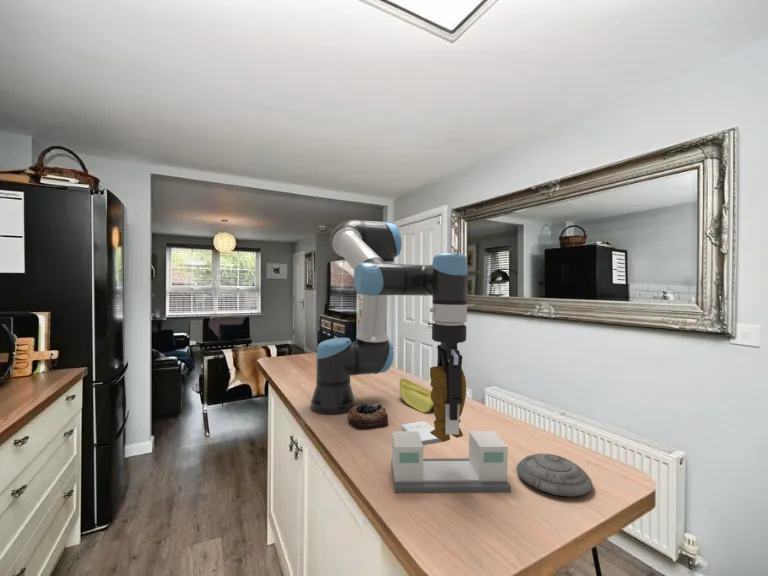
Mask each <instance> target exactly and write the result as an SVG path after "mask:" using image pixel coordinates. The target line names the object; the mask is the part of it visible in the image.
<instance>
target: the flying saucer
mask: <svg viewBox="0 0 768 576" xmlns="http://www.w3.org/2000/svg"><path fill="white" fill-rule="evenodd" d="M515 470H516V472H517V474H518V476H519V477H520V479H522V480H523V481H524V482H526V483H527V484H529V485H530V486H531V487H534V488H535V489H538V490H540V491H542V492H545V493H548V494H552V495H557V496H562V497H578V496H582V495H586V494H588V493H589V492H591V491H592V489H593V487H594V486H593V485H594V484H593V482H592V479H591V478H590V476H589V475H588V473H587V472H586V471H585V470H584V469H583V468H582V467H580V466H579V465H578V464H576V463H575V462H573V461H571V459H567V458H565V457H563V456H560V455H556V454H551V453H534V454H530V455H528V456H525V457H524V458H522V459H521V460H520V461H519V462H518V463H517V465H516V469H515Z"/></svg>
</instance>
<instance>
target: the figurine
mask: <svg viewBox="0 0 768 576" xmlns="http://www.w3.org/2000/svg"><path fill="white" fill-rule="evenodd" d="M429 379H430V383H429V384H430V386H431V388H432V389H431V390H430V391H431V400H432V401H433V403H434V405H433V406H432V408H433V413H434V418H435V420H434V421H433V426H434V430H433V431H431V432H430V433H431V434H432V435H434V436H435V437H437V438H439V439H440V440H442V442H447V441H450V440H451V436H453V437H454V438H457V439H459V438H461V437H463V435H464V432H462V430H461V428H460V427H459V434H448V435H446V433H445V416H446V404H444V401H447V384H446V372H445V371H444V370H443V366H437V365H436V366H431V367H430V368H429ZM466 396H467V381H466V376H465V372H464V371H463V369H462V400H463V402H462V404H459V424H460V423H461V419H460V417H461V416H462V414H463V410H464V408H465V404H466V403H465V402H466Z"/></svg>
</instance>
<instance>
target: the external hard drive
mask: <svg viewBox="0 0 768 576" xmlns="http://www.w3.org/2000/svg"><path fill="white" fill-rule="evenodd" d="M400 427H401V428H400V429H402V431H418V432H419V435H420V438H421V441H422V444H423V446H424V445H429V444H435V443H441V442H443V441H442V440H440V439H439V438H437V437H435V436H434V435H432V434H431V433H430V432H431V431H433V430H434V429H435V427H433V426H431V425H430V424H429V423H428V422H426V421H424V420H423V421H415V422H408V423H407V422H406V423H403V424H401V425H400Z"/></svg>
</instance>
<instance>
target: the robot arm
mask: <svg viewBox="0 0 768 576" xmlns="http://www.w3.org/2000/svg"><path fill="white" fill-rule="evenodd" d="M402 244H403V243H402V235H401V232H400V230H399V228H398V226H397V225H396V224H394V223H391V222H386V221H375V220H374V221H373V220H363V219H349V220H345V221H342V222H340V223H339V224H338V225H337V226H335V227H334V229H333V231H332V232H331V235H330V245H331V247H332V250H333V251H334V253H336V255H338V256H340V257H342V258H344V260H345V261H346V262H347V264H348V265H349V266H350V267H351V269H352V270H353V272H354V273H353V286H354V289H355V291H356V292H357V294H359V295H362V305H361V323H360V332H359V333H357V334H356V336H355V337H356V338H355V341H352V340H351V338H349V337H336V338H335V337H334V338H330V339H329V338H328V339H326V340H323V341H321V342H320V343H318V345H317V347H316V355H315V356H316V357H315V358H316V382H315V383H316V384H315V385H316V386H315V388H314V392H313V395H312V397H311V400H310V408H311V411H313V412H315V413H317V414H323V415H340V414H344V413H349V410H350V409H352V408H353V407H356V398H355V396H354V392H353V388H352V386H351V376H359V375H360V376H361V375H373V374H374V375H377V374H381V373H382V374H383V373H386V372H387V371H388V370H390V368H391V367H392V365H393V361H394V345H393V343H392V342H391V341H390V339H389V336H388V335H387V334H386V319H387V303H388V296H420V297H421V296H424V297H427V296H432V307H430V308H429V312H430V313H432V322H434V323H433V324H431V328H432V329H431V339H432V340H433V341H434V342H437V343H440V344H437V347H436V349H437V360H436V361H437V365H436V366H443V370H444V371H445V372H446V384H447V401H444V404H446V416H445V433H446V435H448V434H450V435H451V434H459V428H460V423H459V419H460V417H459V404H462V402H463V400H462V370H463V369H462V367H463V366H462V365H463V355H462V354H460V350H459V349H458V344H459V343H465V342H466V341H467V325H466V324H465V323H467V321H468V303H467V300H468V299H467V298H468V274H469V271H468V259H467V256H466V255H465V254H463V253H457V252H456V253H455V252H452V253H451V252H443V253H441V252H440V253H437V254H435V255H434V256H433V258H432V264H410V263H409V264H407V263H406V264H403V263H402V264H401V263H395V258H397V257H399V255H400V254H401V251H402V246H403V245H402Z"/></svg>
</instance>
